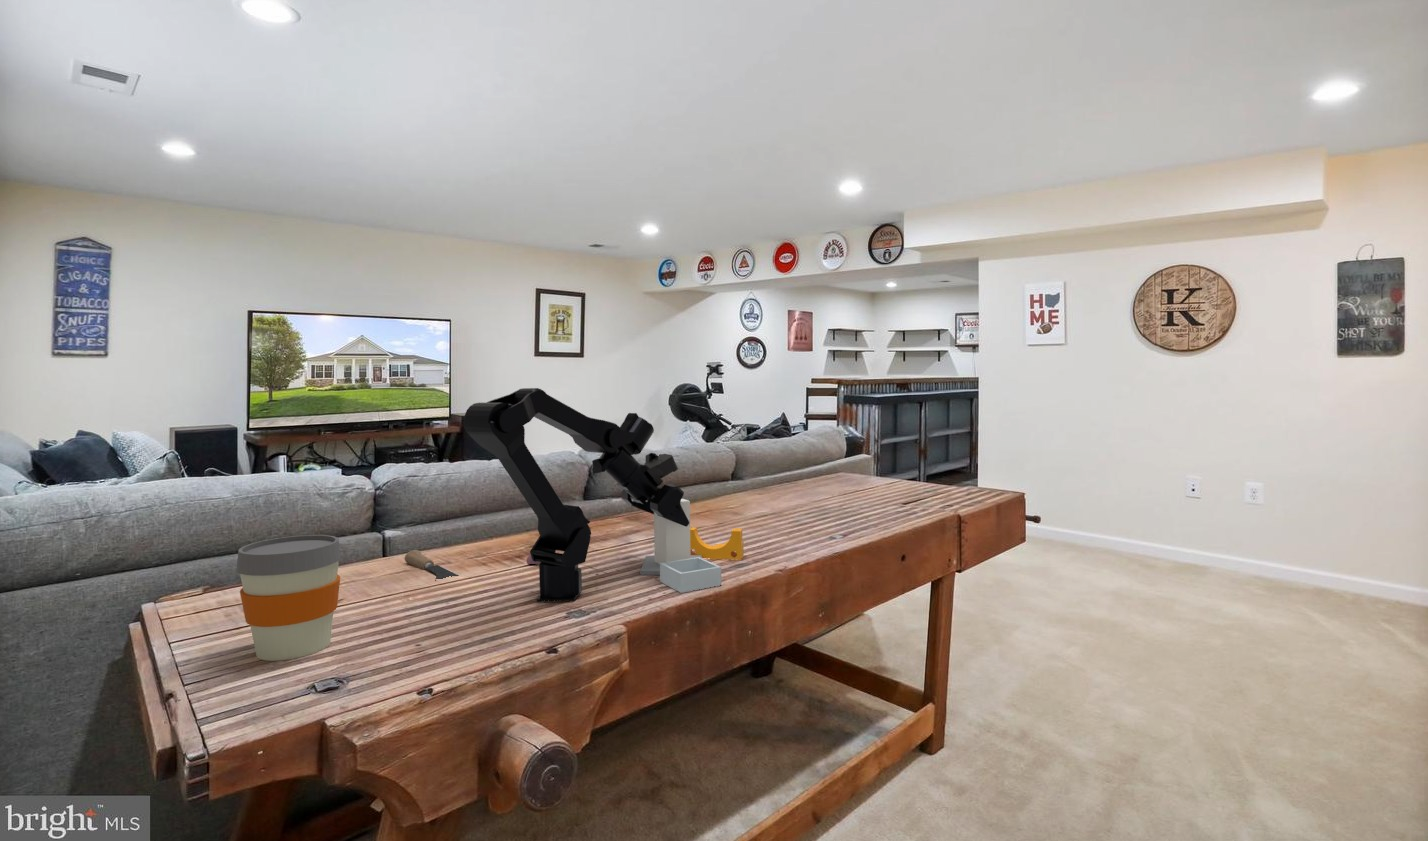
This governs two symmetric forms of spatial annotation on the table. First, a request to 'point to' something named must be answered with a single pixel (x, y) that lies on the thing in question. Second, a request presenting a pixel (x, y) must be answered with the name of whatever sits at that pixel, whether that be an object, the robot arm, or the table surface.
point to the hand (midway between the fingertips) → (677, 520)
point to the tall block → (672, 537)
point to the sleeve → (690, 574)
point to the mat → (654, 565)
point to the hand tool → (427, 564)
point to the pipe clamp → (717, 546)
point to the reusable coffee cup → (290, 593)
